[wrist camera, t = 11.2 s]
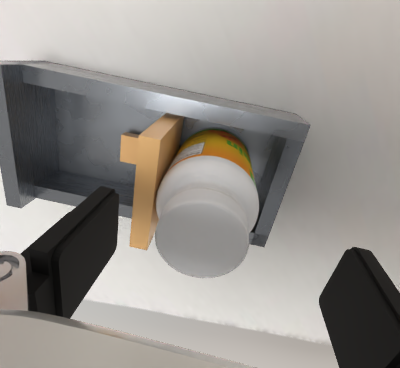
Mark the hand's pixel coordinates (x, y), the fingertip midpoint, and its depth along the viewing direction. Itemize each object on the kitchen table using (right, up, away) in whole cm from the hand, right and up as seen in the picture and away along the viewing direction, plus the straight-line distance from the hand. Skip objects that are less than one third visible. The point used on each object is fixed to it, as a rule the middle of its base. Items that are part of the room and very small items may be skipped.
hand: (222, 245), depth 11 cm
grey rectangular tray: (-4, +5, +9) cm, 11 cm away
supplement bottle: (0, +4, +9) cm, 10 cm away
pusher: (-5, +5, +9) cm, 11 cm away
